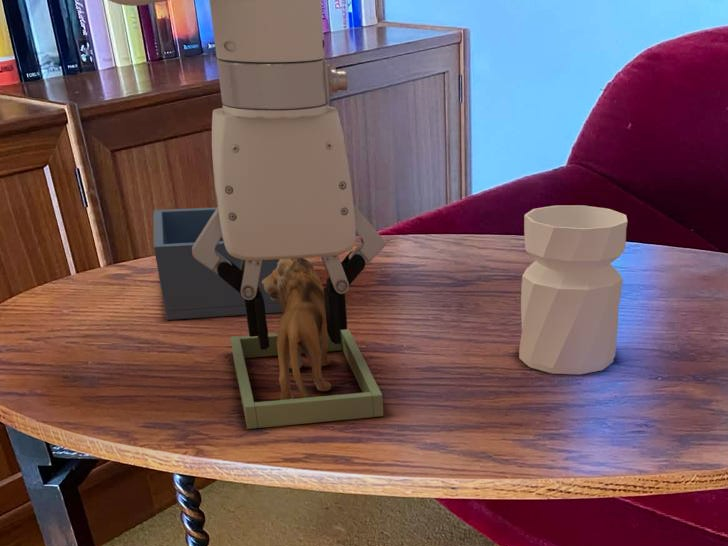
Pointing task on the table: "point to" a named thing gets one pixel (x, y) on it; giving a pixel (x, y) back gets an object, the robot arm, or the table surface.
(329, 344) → the tray
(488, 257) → the table surface
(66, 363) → the table surface
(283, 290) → the lion figurine
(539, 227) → the vase
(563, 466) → the table surface
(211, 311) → the chest
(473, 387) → the table surface
